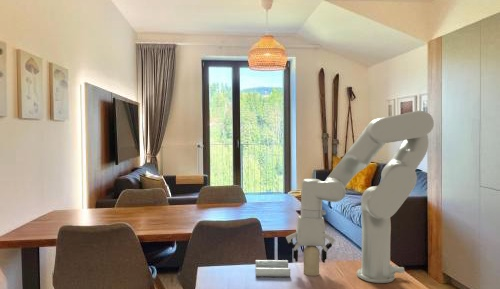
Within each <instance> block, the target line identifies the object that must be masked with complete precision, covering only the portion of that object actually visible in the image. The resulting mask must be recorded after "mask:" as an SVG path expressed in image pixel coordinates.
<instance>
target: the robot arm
mask: <svg viewBox="0 0 500 289" xmlns="http://www.w3.org/2000/svg"><path fill="white" fill-rule="evenodd" d="M434 124H435V123H434V118H433V117H432V115H431V114H430V113H428V112H426V111H424V110H415V111H410V112H405V113H400V114H397V115H391V116H384V117H378V118H374V119H373V120H371V121H370V122H369V123H368V124H367V125H366V127H365V128H364V129H363V130H362V132H361V133H360V134H359V136H358V137H357V138H356V140H355V141H354V142H353V143H352V145H351V146H350V147H349V149H348V150H347V151H346V153H345V154H344V156H342V158H341V159H340V160H339V162H338V163H337V165H336V166H335V167H334V168H333V169H332V171H331V172H330V173H329V175H328V176H326V179H325V180H324V181H323V180H321V179H318V178H304V179H303V180H302V182H301V192H300V193H301V194H300V196H301V197H300V198H301V199H300V215H298V216H297V221H296V227H295V230H296V231H295V232H293V233H291V234H289V235H286V236H285V239H286V241H287V243H288V246H290V247H291V249H292V253H293V255H292V257H293V260H294V261H295V263H297V262H299V260H298V259H299V248H300V247H301V246H304V247H306V246H316V247H321V254H320V256H321V258H320V260H321V262H322V263H324V264H325V263H326V260H327V252H328V251H329V250H330V248H332V247H333V245H334V243H335V241H336V240H335V238H334V237H332V236H331V235H329V234H327V233H326V230H325V229H326V226H325V219H324V217H323V216H325V215H327V211H326V210H324V209H323V201H326V202H331V203H339V202H340V201H342V200H344V198H345V197H346V193H347V192H346V188H347V186H348V185H349V183H350V182H351V181H352V179H353V178H355V177H356V175H357V174H359V173H360V172H361V171H363V170H364V169H366V168H367V167H368V166H369V165H370V164H371V163H372V161H373V160H374V158H375V157H376V156H377V155H378V153H379V152H380V151H381V149H382V148H383V147H384V146H385V144H389V143H395V142H401V144H400V145H399V147H398V149H397V150H396V152H395V153H394V155H392V157H391V159H390V160H389V161H388V162H387V163H386V164H385V166H383V168H382V170H381V174H380V177H381V178H380V179H381V181H380V182H379V184H378V185H375V186H369V187H368V188H366V189H365V190H364V191H363V193H362V195H361V200H360V206H361V208H360V209H361V268H358V269H357V270H356V276H357V277H358V278H359V279H362V280H363V281H366V282H369V283H376V284H387V283H388V284H389V283H391V282H393V281H395V279H396V275H395V274H396V273H397V274H405V267H403V266H398V265H395V264H394V265H392V264H391V233H392V232H391V231H392V226H391V225H392V223H391V217H393V216H394V215H395V214H396V213H397V212H398V210H400V208H401V207H402V205H403V204H404V203H405V201H406V200H407V199H408V197H409V196H410V195H411V193H412V192H413V190H414V189H415V187H416V184H417V180H418V176H417V173H416V170H417V168H418V167H419V165H420V164H421V162H422V161H423V159H424V158H425V157H426V154H427V152H428V149H429V136H428V135H429V134H430V133H431V132H432V130H433V128H434ZM292 239H295V241H296V242H292ZM326 239H327V240H328V241H329V242H327V243H326ZM325 244H326V245H325Z"/></svg>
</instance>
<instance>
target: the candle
mask: <svg viewBox="0 0 500 289" xmlns="http://www.w3.org/2000/svg"><path fill="white" fill-rule="evenodd" d="M303 274H304V275H306V276H309V277H316V276H319V275H320V249H319V247H318V246H304V248H303Z"/></svg>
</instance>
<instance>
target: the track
mask: <svg viewBox="0 0 500 289" xmlns="http://www.w3.org/2000/svg"><path fill="white" fill-rule="evenodd" d="M255 278H257V279H260V278H264V279H266V278H269V279H270V278H271V279H274V278H275V279H277V278H278V279H281V278H282V279H283V278H285V279H287V278H288V279H291V268H290V267H289V260H287V259H285V260H284V259H282V260H279V259H277V260H276V259H275V260H274V259H255Z"/></svg>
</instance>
